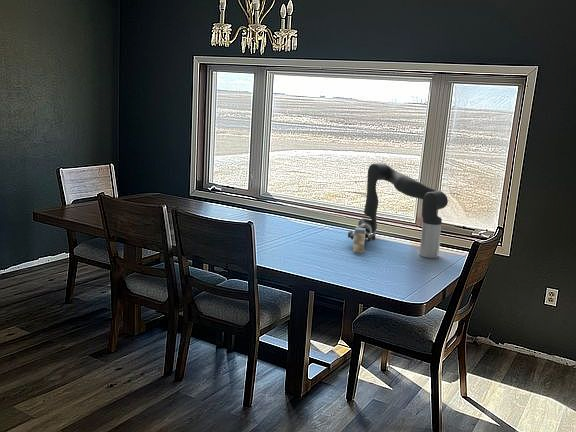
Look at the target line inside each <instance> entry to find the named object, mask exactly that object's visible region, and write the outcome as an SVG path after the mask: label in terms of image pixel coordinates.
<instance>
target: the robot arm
mask: <svg viewBox="0 0 576 432" xmlns="http://www.w3.org/2000/svg"><path fill="white" fill-rule="evenodd" d="M366 177H367V178H366V179H367V181H366V186H367V187H366V199H365V204H364V208H363V209H364V210H363V214H364V215H365V216H367V217H369V219H368V218H366V217H365V218H361V219H359V221H358V224H357V227H359V228H366V232H365V241H366V240H367V242H370V241H375V240H376V237H377V236H376V235H377V233H376V231H377V228H378V227H377V226H378V221H377V213H378V206H379V197H378V194H377V183H378V181H386V182H388V183H390V184H392V185H393V186H394V188H395V190H396V191H397V192H399V193H402V194H403V195H406V196H407V197H410V198H415V199H421V200H422V207H421V217H422V226H421V236H420V245H419V256H421V257H422V258H423V257H424V258H426V259H427V258H429V259H438V257H439V255H440V248H441V230H442V221H443V219H442V217H440V216H438V211H439V210H441V209H444V208H446V206H447V205H448V204H449V203H448V202H449V199H448V196H447V195H446V193H444V192H443V191H441V190H438V189H435V188H432V187H429V186H428V185H425V184H424V183H422V182H420V181H418V180H416V179H414V178H412V177H410V176H408V175H406V174H404V173H401V172H399V171H398V170H395V169H394V168H392V166H389V165H388V164H386V163H377V162H374V163H372V164H371V163H370V165H369V166H368V168H367V176H366ZM354 233H355V231H354V230H349V231H348V232H347V238H350V239H351V240H354Z"/></svg>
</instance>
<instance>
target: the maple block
mask: <svg viewBox="0 0 576 432" xmlns="http://www.w3.org/2000/svg"><path fill="white" fill-rule="evenodd" d="M354 232H355V233H354V238H353V245H352V247H353V248H352V253H357V254H363V253H365V244H366V243H365V241H366V240H365V232H366V228H359V227H358V226H356V227H355V228H354Z"/></svg>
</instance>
